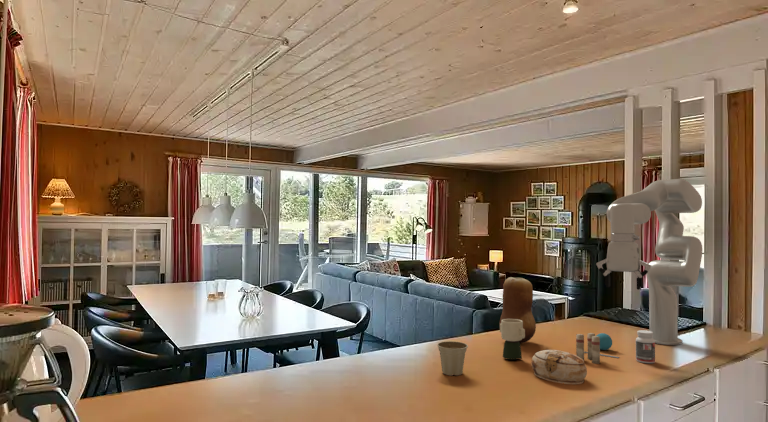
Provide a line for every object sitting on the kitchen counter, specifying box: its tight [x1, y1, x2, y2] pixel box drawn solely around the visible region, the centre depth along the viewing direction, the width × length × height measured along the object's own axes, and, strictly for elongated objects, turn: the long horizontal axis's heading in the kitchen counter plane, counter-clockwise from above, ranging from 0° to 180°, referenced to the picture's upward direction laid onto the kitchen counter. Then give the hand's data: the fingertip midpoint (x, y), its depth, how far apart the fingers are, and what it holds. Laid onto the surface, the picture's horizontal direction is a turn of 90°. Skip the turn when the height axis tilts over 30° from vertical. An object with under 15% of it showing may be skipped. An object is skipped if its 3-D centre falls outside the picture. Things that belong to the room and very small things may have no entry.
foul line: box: [584, 351, 620, 359], centre depth 171 cm, size 1×14×1 cm, turn 52°
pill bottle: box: [635, 329, 656, 364], centre depth 163 cm, size 6×6×10 cm
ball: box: [595, 332, 613, 351], centre depth 178 cm, size 6×6×6 cm
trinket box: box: [530, 349, 588, 385], centre depth 146 cm, size 13×15×8 cm
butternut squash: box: [498, 276, 537, 345], centre depth 189 cm, size 14×13×25 cm
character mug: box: [499, 319, 525, 361], centre depth 166 cm, size 11×7×13 cm, turn 32°
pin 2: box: [591, 335, 601, 365], centre depth 161 cm, size 2×2×8 cm
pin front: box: [586, 332, 596, 361], centre depth 166 cm, size 2×2×8 cm
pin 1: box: [575, 333, 585, 361], centre depth 164 cm, size 2×2×8 cm
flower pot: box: [436, 340, 469, 377], centre depth 150 cm, size 9×9×9 cm
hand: (623, 288), depth 170 cm, fingers open, 9 cm apart
